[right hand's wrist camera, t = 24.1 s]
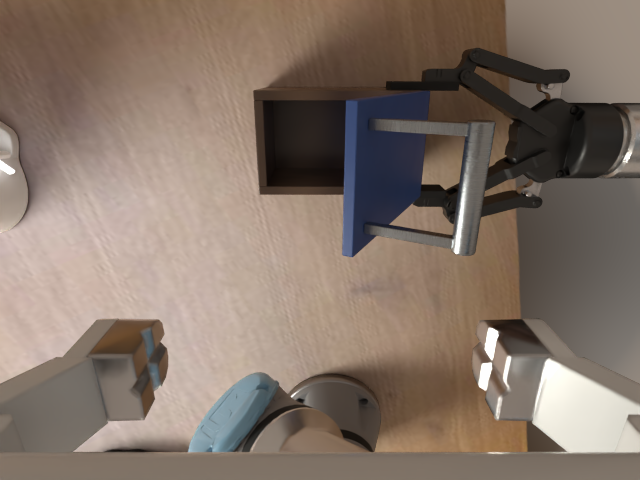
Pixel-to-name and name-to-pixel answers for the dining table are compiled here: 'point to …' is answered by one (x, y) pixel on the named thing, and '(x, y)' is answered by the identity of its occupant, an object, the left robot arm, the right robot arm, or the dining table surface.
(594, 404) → the right robot arm
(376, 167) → the lid
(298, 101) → the chest
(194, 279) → the dining table surface
